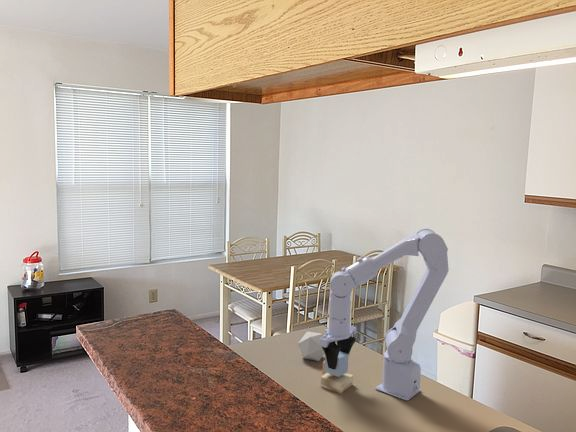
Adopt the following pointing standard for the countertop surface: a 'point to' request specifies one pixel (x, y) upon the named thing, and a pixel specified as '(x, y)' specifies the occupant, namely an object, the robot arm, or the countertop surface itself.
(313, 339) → the die
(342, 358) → the blue block
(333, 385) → the beech base
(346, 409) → the countertop surface
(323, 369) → the terracotta block
